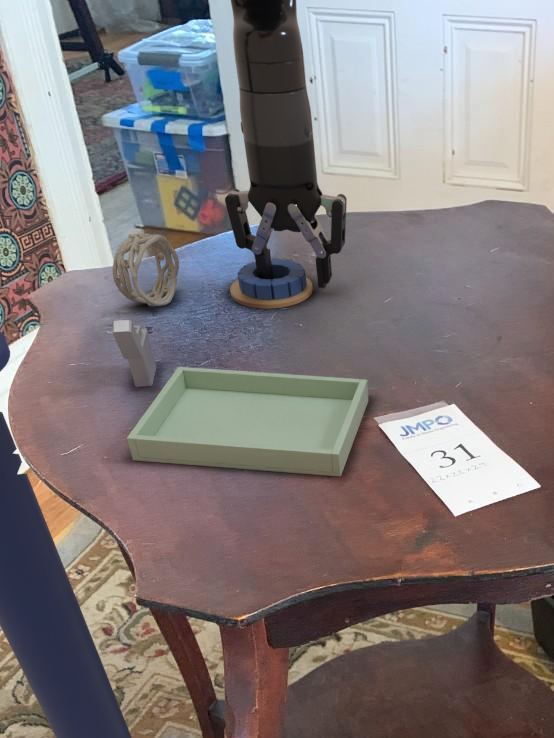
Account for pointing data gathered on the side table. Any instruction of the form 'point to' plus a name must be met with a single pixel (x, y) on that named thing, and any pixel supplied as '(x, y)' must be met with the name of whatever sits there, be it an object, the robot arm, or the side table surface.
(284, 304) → the coaster
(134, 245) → the bracelet
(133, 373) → the gray letter y
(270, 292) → the ring
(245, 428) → the tray
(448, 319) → the side table surface
